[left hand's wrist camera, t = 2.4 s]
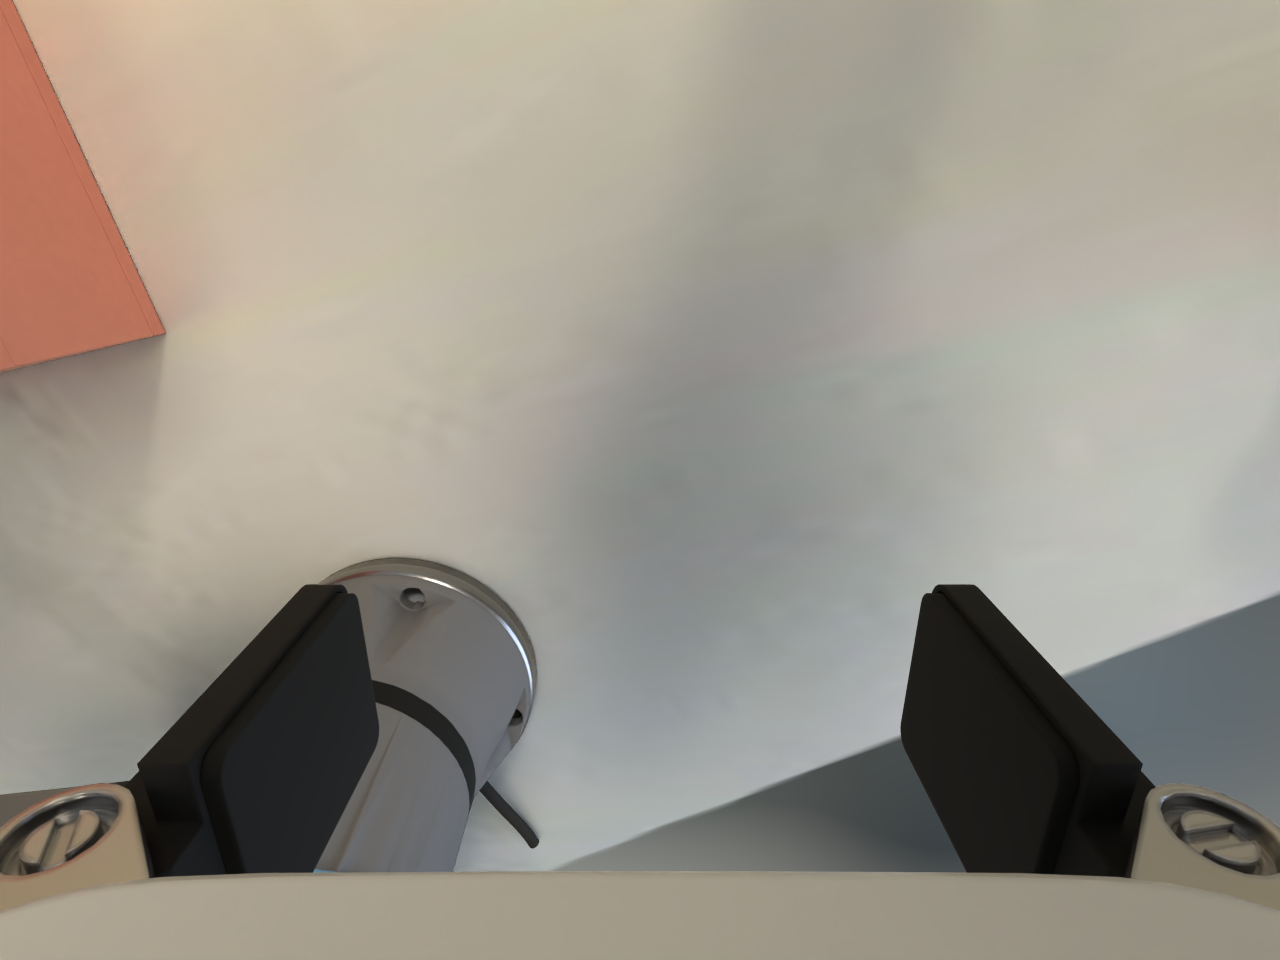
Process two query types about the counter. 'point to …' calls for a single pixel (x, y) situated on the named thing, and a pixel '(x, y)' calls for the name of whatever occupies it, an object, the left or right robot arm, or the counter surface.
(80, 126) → the counter surface
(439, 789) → the right robot arm
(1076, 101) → the counter surface
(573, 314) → the counter surface
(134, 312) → the cabinet
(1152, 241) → the counter surface
